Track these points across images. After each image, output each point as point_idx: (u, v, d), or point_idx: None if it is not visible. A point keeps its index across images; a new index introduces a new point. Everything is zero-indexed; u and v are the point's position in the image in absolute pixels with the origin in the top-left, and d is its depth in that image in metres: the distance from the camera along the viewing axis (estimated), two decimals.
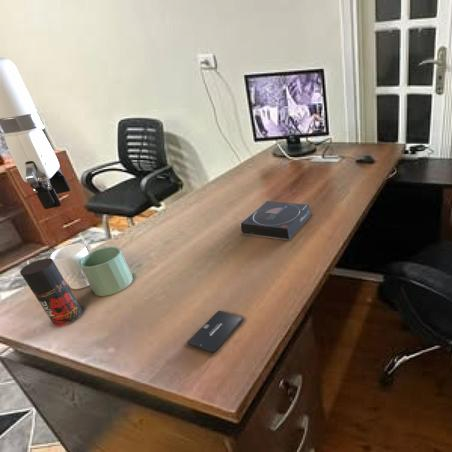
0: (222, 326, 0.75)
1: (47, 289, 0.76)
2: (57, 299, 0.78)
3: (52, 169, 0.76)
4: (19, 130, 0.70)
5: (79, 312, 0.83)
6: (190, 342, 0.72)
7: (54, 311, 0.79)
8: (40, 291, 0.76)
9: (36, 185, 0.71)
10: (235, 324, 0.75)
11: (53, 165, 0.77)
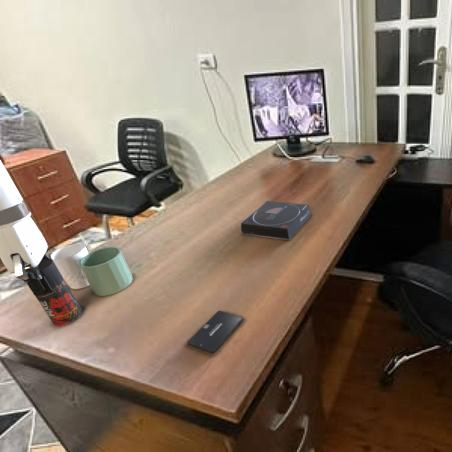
0: (222, 326, 0.75)
1: None
2: (57, 299, 0.78)
3: (39, 255, 0.74)
4: (3, 223, 0.68)
5: (79, 312, 0.83)
6: (190, 342, 0.72)
7: (54, 311, 0.79)
8: None
9: (26, 278, 0.71)
10: (235, 324, 0.75)
11: (40, 250, 0.75)
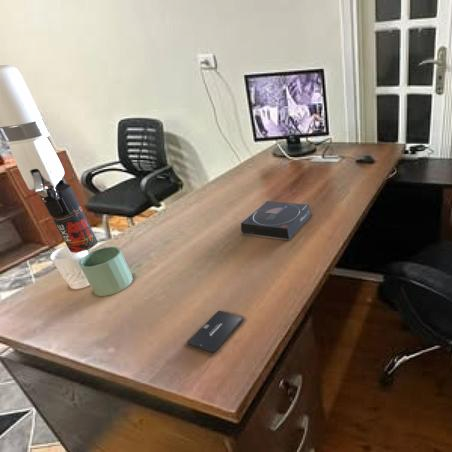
0: (222, 326, 0.75)
1: None
2: (74, 224, 0.80)
3: (57, 177, 0.76)
4: (24, 138, 0.69)
5: (95, 241, 0.85)
6: (190, 342, 0.72)
7: (71, 235, 0.81)
8: None
9: (46, 196, 0.73)
10: (235, 324, 0.75)
11: (58, 172, 0.77)
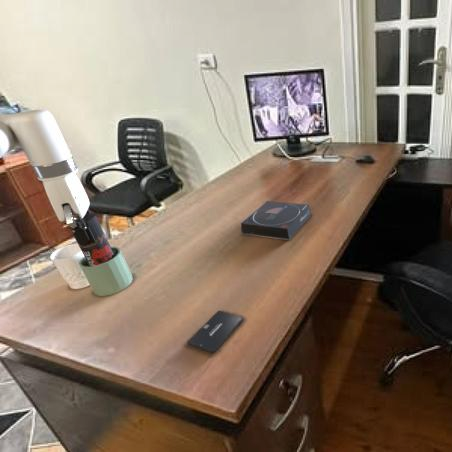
0: (222, 326, 0.75)
1: None
2: (99, 250, 0.86)
3: (84, 208, 0.82)
4: (56, 175, 0.75)
5: None
6: (190, 342, 0.72)
7: (96, 261, 0.87)
8: None
9: (75, 227, 0.79)
10: (235, 324, 0.75)
11: (85, 204, 0.83)
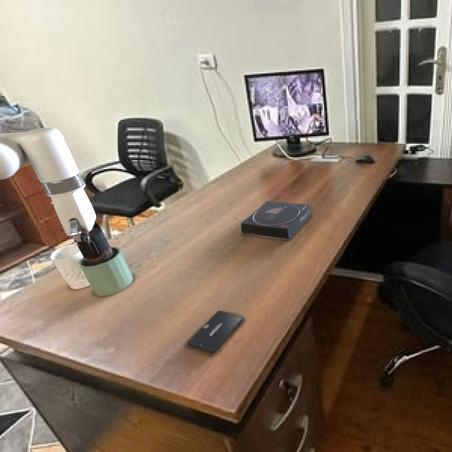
0: (222, 326, 0.75)
1: None
2: None
3: (91, 222, 0.84)
4: (64, 191, 0.77)
5: None
6: (190, 342, 0.72)
7: None
8: None
9: (79, 240, 0.79)
10: (235, 324, 0.75)
11: (91, 218, 0.84)
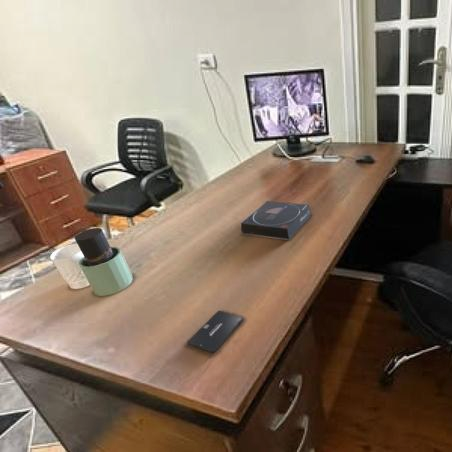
0: (222, 326, 0.75)
1: (97, 254, 0.86)
2: None
3: None
4: None
5: None
6: (190, 342, 0.72)
7: None
8: (91, 255, 0.86)
9: None
10: (235, 324, 0.75)
11: None
